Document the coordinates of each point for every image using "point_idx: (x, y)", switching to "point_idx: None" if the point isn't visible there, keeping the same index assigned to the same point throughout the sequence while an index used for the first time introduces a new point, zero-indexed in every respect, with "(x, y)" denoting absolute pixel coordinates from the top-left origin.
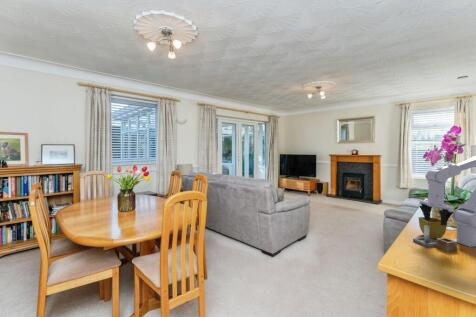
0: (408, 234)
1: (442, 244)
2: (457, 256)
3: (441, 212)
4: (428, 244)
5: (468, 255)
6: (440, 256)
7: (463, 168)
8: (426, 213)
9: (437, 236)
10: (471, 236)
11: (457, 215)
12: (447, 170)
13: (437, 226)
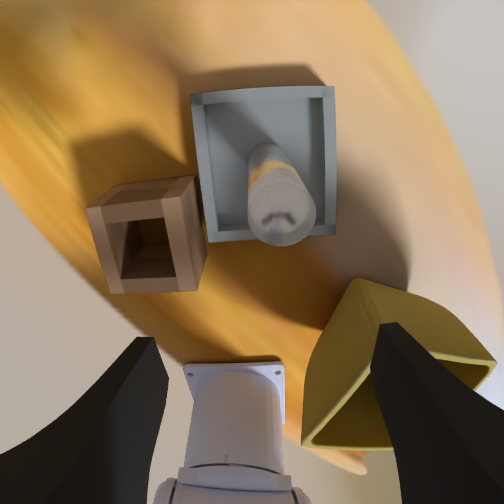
0: (446, 190)
1: (138, 192)
2: (56, 182)
3: (6, 486)
4: (192, 108)
5: (75, 258)
6: (57, 73)
7: None
8: (420, 417)
9: (327, 324)
10: (191, 423)
11: None
12: None
13: (332, 376)
